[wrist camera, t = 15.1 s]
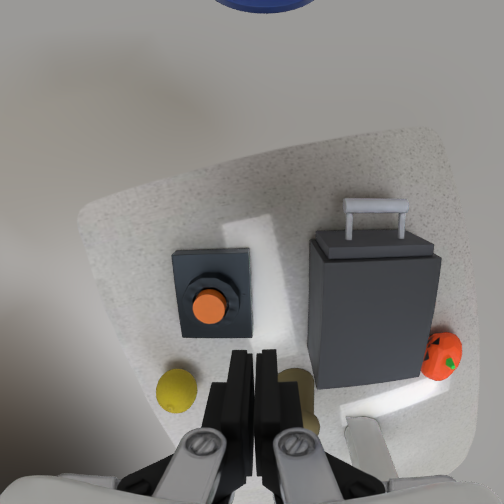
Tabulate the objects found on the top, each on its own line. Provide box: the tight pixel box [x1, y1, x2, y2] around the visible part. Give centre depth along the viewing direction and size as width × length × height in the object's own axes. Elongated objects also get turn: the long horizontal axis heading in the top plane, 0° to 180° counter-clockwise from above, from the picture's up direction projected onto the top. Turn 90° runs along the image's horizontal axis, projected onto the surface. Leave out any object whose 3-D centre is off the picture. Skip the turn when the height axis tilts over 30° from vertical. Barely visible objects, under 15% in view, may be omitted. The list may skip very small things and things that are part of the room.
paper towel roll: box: [345, 416, 399, 481], centre depth 35 cm, size 7×6×21 cm
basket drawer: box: [316, 198, 434, 260], centre depth 34 cm, size 18×11×8 cm, turn 2°
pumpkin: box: [421, 332, 462, 381], centre depth 38 cm, size 7×8×6 cm
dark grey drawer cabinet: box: [307, 239, 442, 390], centre depth 35 cm, size 15×13×10 cm
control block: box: [172, 248, 253, 338], centre depth 38 cm, size 11×9×4 cm
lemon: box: [156, 369, 197, 413], centre depth 40 cm, size 6×6×8 cm
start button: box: [193, 289, 226, 324], centre depth 36 cm, size 4×4×2 cm
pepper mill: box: [278, 368, 320, 436], centre depth 38 cm, size 6×6×11 cm
